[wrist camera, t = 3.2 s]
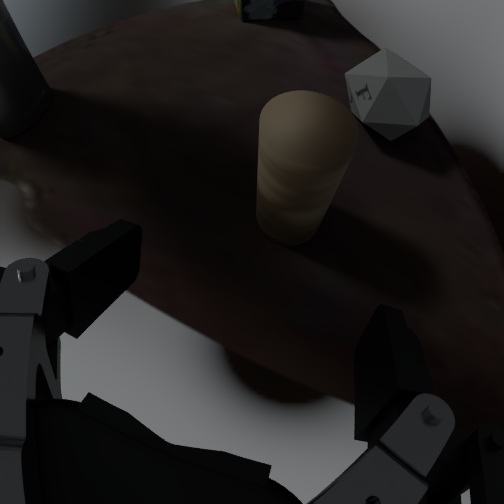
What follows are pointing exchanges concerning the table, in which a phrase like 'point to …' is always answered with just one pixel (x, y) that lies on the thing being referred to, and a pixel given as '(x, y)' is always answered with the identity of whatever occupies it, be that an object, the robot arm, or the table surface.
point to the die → (389, 94)
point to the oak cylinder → (301, 162)
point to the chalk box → (269, 9)
